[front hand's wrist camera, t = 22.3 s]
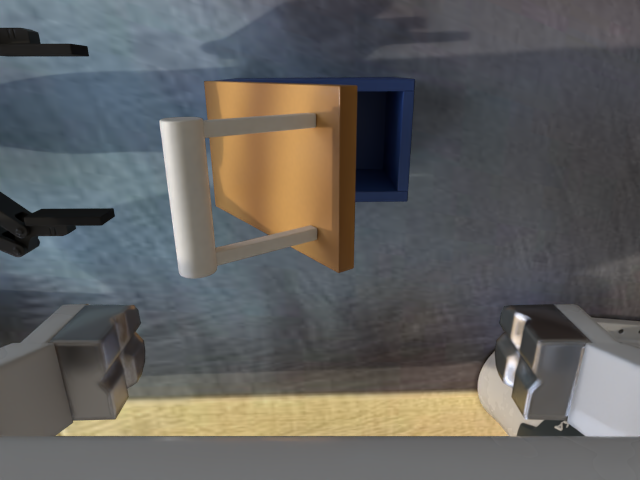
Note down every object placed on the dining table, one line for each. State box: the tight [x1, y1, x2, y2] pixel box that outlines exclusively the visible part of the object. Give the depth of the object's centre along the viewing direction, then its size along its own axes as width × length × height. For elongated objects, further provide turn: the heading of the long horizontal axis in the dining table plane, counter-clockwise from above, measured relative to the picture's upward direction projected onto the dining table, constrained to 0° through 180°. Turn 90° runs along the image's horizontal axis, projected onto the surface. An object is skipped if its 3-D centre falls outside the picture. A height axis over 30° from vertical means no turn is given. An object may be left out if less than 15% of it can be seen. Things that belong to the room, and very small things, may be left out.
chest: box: [216, 77, 415, 202], centre depth 40 cm, size 15×10×10 cm, turn 90°
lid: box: [159, 81, 357, 278], centre depth 27 cm, size 16×10×9 cm
